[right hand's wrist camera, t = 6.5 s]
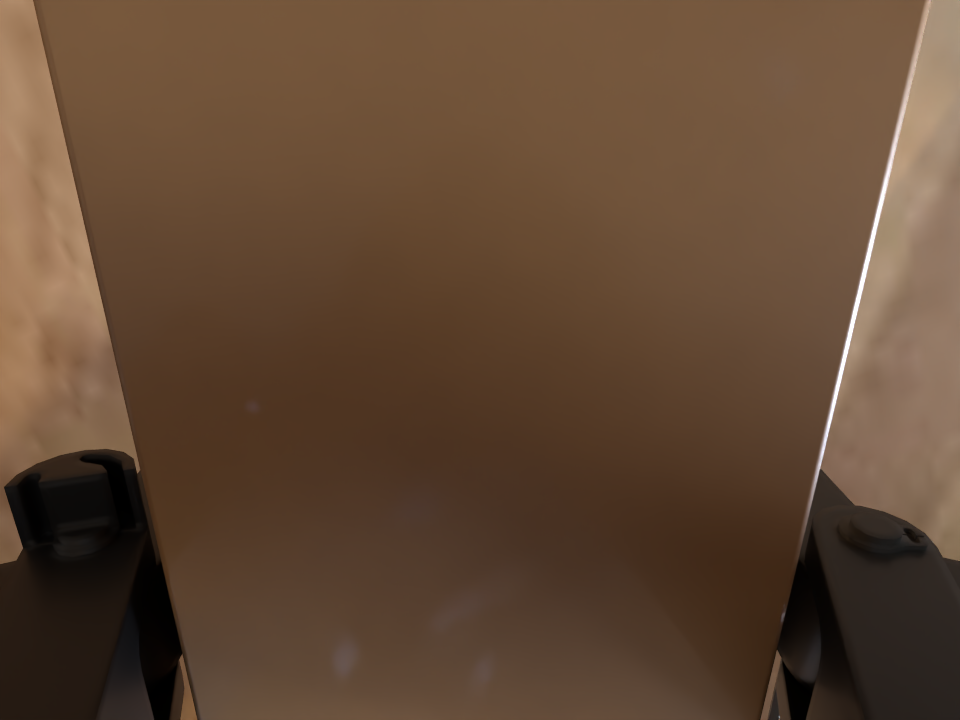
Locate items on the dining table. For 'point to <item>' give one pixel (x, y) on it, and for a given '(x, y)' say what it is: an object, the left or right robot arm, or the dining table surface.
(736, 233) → the wooden beam
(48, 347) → the dining table surface
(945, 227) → the dining table surface
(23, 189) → the dining table surface
